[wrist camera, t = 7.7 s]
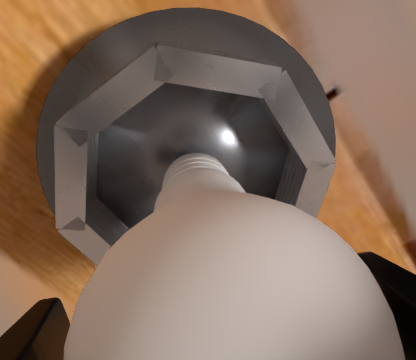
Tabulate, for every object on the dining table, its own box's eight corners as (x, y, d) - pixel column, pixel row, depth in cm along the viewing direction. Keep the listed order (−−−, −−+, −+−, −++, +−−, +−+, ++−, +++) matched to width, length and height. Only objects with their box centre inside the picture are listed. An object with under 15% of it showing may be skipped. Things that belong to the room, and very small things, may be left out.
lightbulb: (99, 111, 12) (-152, 526, 2) (264, 88, 12) (636, 363, 3) (134, 245, 15) (86, 687, 5) (268, 223, 15) (458, 595, 6)
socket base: (361, 180, 16) (405, 219, 13) (166, 298, 19) (166, 356, 15) (229, -69, 11) (251, -100, 8) (-16, 132, 14) (-72, 167, 10)
